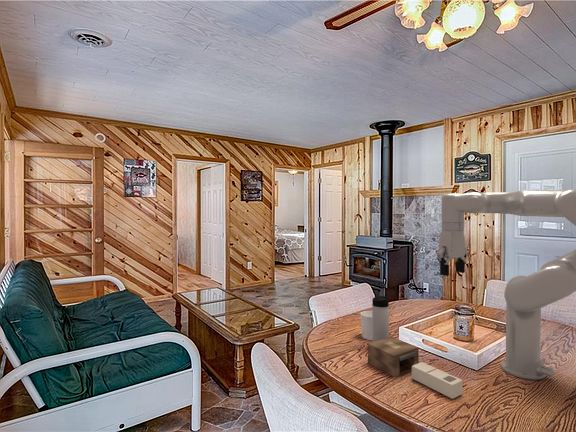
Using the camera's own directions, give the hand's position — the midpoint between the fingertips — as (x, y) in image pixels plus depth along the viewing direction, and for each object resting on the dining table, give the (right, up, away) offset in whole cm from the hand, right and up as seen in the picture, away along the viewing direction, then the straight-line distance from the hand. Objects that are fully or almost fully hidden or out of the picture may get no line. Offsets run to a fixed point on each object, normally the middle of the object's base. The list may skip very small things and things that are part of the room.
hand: (452, 273), depth 127 cm
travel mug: (-24, -31, +9) cm, 40 cm away
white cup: (-26, -30, +19) cm, 44 cm away
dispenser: (-24, -31, -7) cm, 40 cm away
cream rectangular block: (-15, -31, -21) cm, 40 cm away
